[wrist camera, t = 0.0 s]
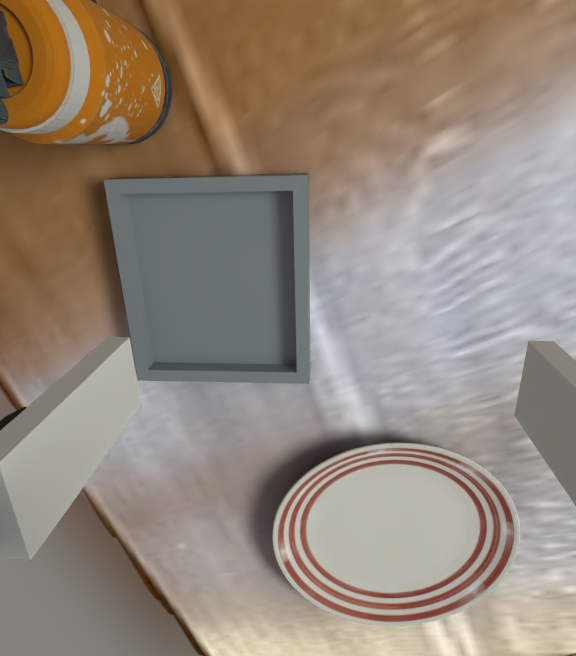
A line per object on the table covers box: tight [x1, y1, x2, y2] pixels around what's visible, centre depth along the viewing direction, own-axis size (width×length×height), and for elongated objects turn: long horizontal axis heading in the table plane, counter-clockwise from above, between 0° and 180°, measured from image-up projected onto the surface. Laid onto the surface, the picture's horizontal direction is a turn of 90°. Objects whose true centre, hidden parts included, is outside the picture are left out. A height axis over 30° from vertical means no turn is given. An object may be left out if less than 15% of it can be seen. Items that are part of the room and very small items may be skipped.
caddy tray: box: [104, 173, 310, 384], centre depth 43 cm, size 19×17×2 cm
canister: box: [0, 0, 172, 144], centre depth 28 cm, size 9×11×20 cm
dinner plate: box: [272, 443, 520, 626], centre depth 52 cm, size 28×27×3 cm
